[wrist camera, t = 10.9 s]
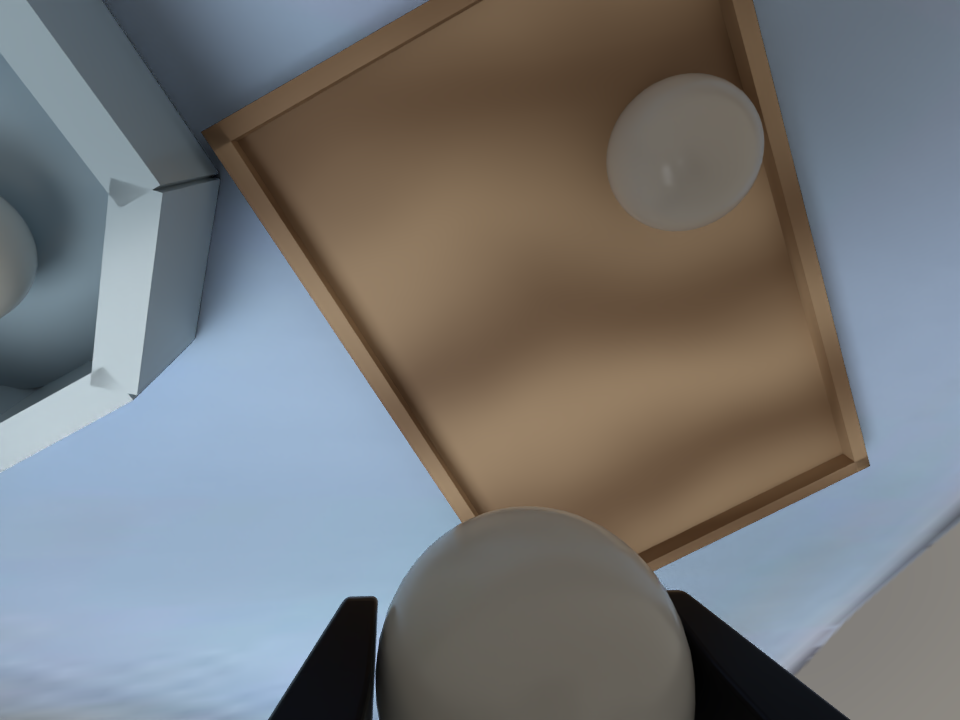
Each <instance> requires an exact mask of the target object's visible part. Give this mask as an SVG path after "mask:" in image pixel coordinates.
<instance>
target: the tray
mask: <svg viewBox="0 0 960 720" xmlns="http://www.w3.org/2000/svg"><path fill="white" fill-rule="evenodd" d="M686 73H703V74H709V75H713V76H717V77H720V78H723V79H725V80H727V81H729V82H731V83H732V84H734V85H735V86H736V87H738V88H739V89H740V90H742V91H743V92H744V93H745V94H746V95H747V96H748V97H749V99H750V100H751V102H752V103H753V105H754V106H755V108H756V110H757V112H758V114H759V116H760V119H761V122H762V126H763V131H764V154H763V160H762V164H761V167H760V171H759V173H758V176H757V178H756V180H755V182H754V184H753V186H752V188H751V189H750V191H749V192H748V194H747V195H746V196H745V197H744V199H743V200H742V201H741V202H740V203H739V204H738V205H737V206H736V207H735V208H734V209H733V210H732V211H730V212H729V213H728V214H726V215H725V216H724V217H722V218H721V219H719V220H717V221H716V222H713V223H711V224H709V225H707V226H704V227H701V228H698V229H694V230H688V231H676V232H672V231H663V230H659V229H655V228H651V227H649V226H647V225H644V224H642V223H641V222H639V221H637V220H636V219H634V218H633V217H632V216H630V215H629V214H628V213H627V212H626V211H625V210H624V209H623V208H622V206H621V205H620V204H619V202H618V201H617V199H616V198H615V196H614V194H613V192H612V190H611V187H610V184H609V181H608V176H607V169H606V154H607V147H608V142H609V139H610V135H611V132H612V130H613V128H614V125H615V123H616V121H617V120H618V118H619V116H620V114H621V113H622V112H623V110H624V109H625V108H626V106H627V105H628V104H629V103H630V102H631V101H632V100H633V99H634V98H635V97H636V96H637V95H638V94H640V93H641V92H642V91H643V90H644V89H646V88H648V87H649V86H651V85H652V84H654V83H656V82H658V81H660V80H663V79H665V78H668V77H671V76H675V75H679V74H686ZM201 133H202V134H203V136H204V137H205V139H206V140H207V142H208V143H209V145H210V146H211V148H212V149H213V151H214V152H215V154H216V155H217V157H218V158H219V160H220V161H221V163H222V164H223V166H224V167H225V169H226V170H227V172H228V173H229V175H230V176H231V178H232V179H233V181H234V182H235V184H236V185H237V187H238V188H239V190H240V191H241V193H242V194H243V196H244V197H245V199H246V200H247V202H248V203H249V205H250V206H251V208H252V209H253V211H254V212H255V214H256V215H257V217H258V218H259V220H260V221H261V223H262V224H263V226H264V227H265V229H266V230H267V232H268V233H269V235H270V236H271V238H272V239H273V241H274V242H275V244H276V245H277V247H278V248H279V250H280V251H281V253H282V254H283V256H284V257H285V259H286V260H287V262H288V263H289V265H290V266H291V268H292V269H293V271H294V272H295V274H296V275H297V277H298V278H299V280H300V281H301V283H302V284H303V286H304V287H305V289H306V290H307V292H308V293H309V295H310V296H311V298H312V299H313V300H314V302H315V303H316V305H317V306H318V308H319V309H320V311H321V312H322V314H323V315H324V317H325V318H326V320H327V321H328V323H329V324H330V326H331V327H332V329H333V330H334V332H335V333H336V335H337V336H338V338H339V339H340V341H341V342H342V344H343V345H344V347H345V348H346V350H347V351H348V353H349V354H350V356H351V357H352V359H353V360H354V362H355V363H356V365H357V366H358V368H359V369H360V371H361V372H362V374H363V375H364V377H365V378H366V380H367V381H368V383H369V384H370V386H371V387H372V389H373V390H374V392H375V393H376V395H377V396H378V398H379V399H380V401H381V402H382V404H383V405H384V407H385V408H386V410H387V411H388V413H389V414H390V416H391V417H392V419H393V420H394V422H395V423H396V425H397V426H398V428H399V429H400V431H401V432H402V434H403V435H404V437H405V438H406V440H407V441H408V443H409V444H410V446H411V447H412V449H413V450H414V452H415V453H416V455H417V456H418V458H419V459H420V461H421V462H422V464H423V465H424V467H425V468H426V470H427V471H428V473H429V474H430V476H431V477H432V479H433V480H434V482H435V483H436V485H437V486H438V488H439V489H440V491H441V492H442V494H443V495H444V497H445V498H446V500H447V501H448V503H449V504H450V506H451V507H452V508H453V510H454V511H455V513H456V514H457V516H458V517H459V519H460V520H461V522H462V523H463V522H465V521H467V520H469V519H471V518H473V517H476V516H478V515H481V514H483V513H486V512H490V511H494V510H497V509H503V508H509V507H519V506H535V507H546V508H552V509H557V510H563V511H566V512H570V513H573V514H576V515H579V516H581V517H583V518H585V519H588V520H590V521H592V522H594V523H596V524H598V525H600V526H602V527H604V528H605V529H607V530H608V531H610V532H612V533H613V534H615V535H616V536H617V537H619V538H620V539H621V540H623V541H624V542H625V543H626V544H627V545H628V546H630V547H631V548H632V549H633V550H634V551H635V552H636V553H637V554H638V555H639V556H640V557H641V558H642V559H643V560H644V561H645V562H646V563H647V565H648V566H649V567H650V568H651V570H652V571H655V570H657V569H659V568H661V567H663V566H665V565H667V564H669V563H671V562H674V561H676V560H678V559H680V558H682V557H684V556H686V555H688V554H690V553H692V552H694V551H696V550H698V549H700V548H702V547H704V546H706V545H708V544H711V543H713V542H715V541H717V540H719V539H721V538H723V537H725V536H727V535H729V534H731V533H733V532H735V531H737V530H739V529H741V528H743V527H745V526H748V525H750V524H752V523H754V522H756V521H758V520H760V519H762V518H764V517H766V516H768V515H770V514H772V513H774V512H776V511H778V510H780V509H782V508H785V507H787V506H789V505H791V504H793V503H795V502H797V501H799V500H801V499H803V498H805V497H807V496H809V495H811V494H813V493H815V492H817V491H819V490H822V489H824V488H826V487H828V486H830V485H832V484H834V483H836V482H838V481H840V480H842V479H844V478H846V477H848V476H850V475H852V474H854V473H856V472H859V471H861V470H863V469H865V468H867V467H869V466H870V464H869V460H868V456H867V452H866V448H865V444H864V440H863V436H862V432H861V428H860V424H859V420H858V416H857V412H856V409H855V405H854V401H853V397H852V393H851V389H850V385H849V381H848V377H847V373H846V369H845V365H844V361H843V357H842V353H841V349H840V345H839V341H838V337H837V333H836V329H835V325H834V321H833V317H832V313H831V309H830V305H829V301H828V297H827V293H826V289H825V286H824V282H823V278H822V274H821V270H820V266H819V262H818V258H817V254H816V250H815V246H814V242H813V238H812V234H811V230H810V226H809V222H808V218H807V214H806V210H805V206H804V202H803V198H802V194H801V190H800V186H799V182H798V178H797V174H796V170H795V166H794V163H793V159H792V155H791V151H790V147H789V143H788V139H787V135H786V131H785V127H784V123H783V119H782V115H781V111H780V107H779V103H778V99H777V95H776V91H775V87H774V83H773V79H772V75H771V71H770V67H769V63H768V59H767V55H766V51H765V47H764V43H763V40H762V36H761V32H760V28H759V24H758V20H757V16H756V12H755V8H754V4H753V0H429V1H428V2H426V3H424V4H422V5H421V6H419V7H417V8H415V9H414V10H412V11H410V12H408V13H407V14H405V15H403V16H402V17H400V18H398V19H396V20H395V21H393V22H391V23H389V24H388V25H386V26H384V27H382V28H381V29H379V30H377V31H376V32H374V33H372V34H370V35H369V36H367V37H365V38H363V39H362V40H360V41H358V42H356V43H355V44H353V45H351V46H349V47H348V48H346V49H344V50H343V51H341V52H339V53H337V54H336V55H334V56H332V57H330V58H329V59H327V60H325V61H323V62H322V63H320V64H318V65H317V66H315V67H313V68H311V69H310V70H308V71H306V72H304V73H303V74H301V75H299V76H297V77H296V78H294V79H292V80H291V81H289V82H287V83H285V84H284V85H282V86H280V87H278V88H277V89H275V90H273V91H271V92H270V93H268V94H266V95H264V96H263V97H261V98H259V99H258V100H256V101H254V102H252V103H251V104H249V105H247V106H245V107H244V108H242V109H240V110H238V111H237V112H235V113H233V114H232V115H230V116H228V117H226V118H225V119H223V120H221V121H219V122H218V123H216V124H214V125H212V126H211V127H209V128H207V129H206V130H204V131H202V132H201Z"/></svg>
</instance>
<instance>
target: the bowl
mask: <svg viewBox="0 0 960 720" xmlns="http://www.w3.org/2000/svg"><path fill="white" fill-rule="evenodd" d="M216 174H218V171H217V170H216V168H215V167H214V165H213V164H212V162H211V161H210V159H209V158H208V156H207V155H206V153H205V152H204V150H203V149H202V147H201V146H200V145H199V143H198V142H197V140H196V139H195V137H194V136H193V134H192V133H191V131H190V130H189V128H188V127H187V125H186V124H185V122H184V121H183V119H182V118H181V116H180V115H179V113H178V112H177V110H176V109H175V108H174V106H173V105H172V103H171V102H170V100H169V99H168V97H167V96H166V94H165V93H164V91H163V90H162V88H161V87H160V85H159V84H158V82H157V81H156V79H155V78H154V76H153V75H152V73H151V72H150V70H149V69H148V68H147V66H146V65H145V63H144V62H143V60H142V59H141V57H140V56H139V54H138V53H137V51H136V50H135V48H134V47H133V45H132V44H131V42H130V41H129V39H128V38H127V36H126V35H125V33H124V32H123V30H122V29H121V28H120V26H119V25H118V23H117V22H116V20H115V19H114V17H113V16H112V14H111V13H110V11H109V10H108V8H107V7H106V5H105V4H104V2H103V1H102V0H0V196H2V197H3V198H4V199H5V200H6V201H7V202H9V203H10V204H11V205H12V206H13V207H14V208H15V209H16V210H17V212H18V213H19V214H20V215H21V217H22V218H23V219H24V221H25V222H26V224H27V225H28V227H29V229H30V231H31V233H32V235H33V238H34V241H35V244H36V249H37V260H38V265H37V273H36V276H35V280H34V282H33V285H32V287H31V289H30V291H29V293H28V294H27V295H26V297H25V298H24V299H23V300H22V302H21V303H20V304H19V305H18V306H17V307H16V308H15V309H13V310H12V311H11V312H9V313H8V314H6V315H5V316H3V317H2V318H0V473H1V472H2V471H4V470H6V469H8V468H10V467H12V466H13V465H15V464H17V463H19V462H21V461H23V460H24V459H26V458H28V457H30V456H32V455H34V454H36V453H37V452H39V451H41V450H43V449H45V448H47V447H48V446H50V445H52V444H54V443H56V442H58V441H59V440H61V439H63V438H65V437H67V436H69V435H70V434H72V433H74V432H76V431H78V430H80V429H81V428H83V427H85V426H87V425H89V424H91V423H92V422H94V421H96V420H98V419H100V418H102V417H103V416H105V415H107V414H109V413H111V412H113V411H114V410H116V409H118V408H120V407H122V406H124V405H125V404H127V403H129V402H131V401H133V400H134V399H135V398H136V397H137V396H138V395H139V394H140V393H141V392H142V391H143V390H144V389H145V388H146V387H147V386H148V385H149V384H150V383H151V382H152V381H153V380H154V379H155V378H156V377H157V376H158V375H160V374H161V373H162V372H163V371H164V370H165V369H166V368H167V367H168V366H169V365H170V364H171V363H172V362H173V361H174V360H175V359H176V358H177V357H178V356H179V355H180V354H181V353H182V352H183V351H184V350H185V349H186V348H187V347H188V346H189V345H190V344H191V343H192V341H193V340H194V339H195V335H196V329H197V322H198V316H199V310H200V304H201V297H202V291H203V285H204V278H205V272H206V266H207V259H208V253H209V247H210V240H211V234H212V228H213V222H214V215H215V209H216V203H217V196H218V190H219V184H220V179H218V178H215V177H213V176H214V175H216Z"/></svg>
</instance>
